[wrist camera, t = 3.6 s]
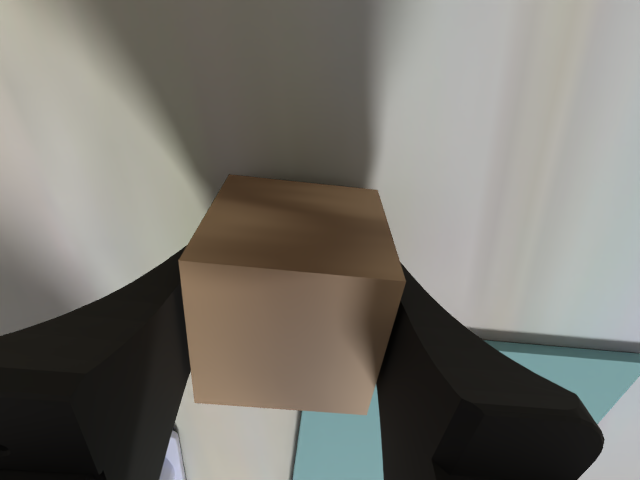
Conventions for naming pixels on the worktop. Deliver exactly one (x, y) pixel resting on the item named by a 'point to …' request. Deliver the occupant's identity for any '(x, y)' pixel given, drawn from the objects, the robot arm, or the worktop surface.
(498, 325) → the worktop surface
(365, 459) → the mat
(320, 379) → the walnut cube
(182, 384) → the robot arm
